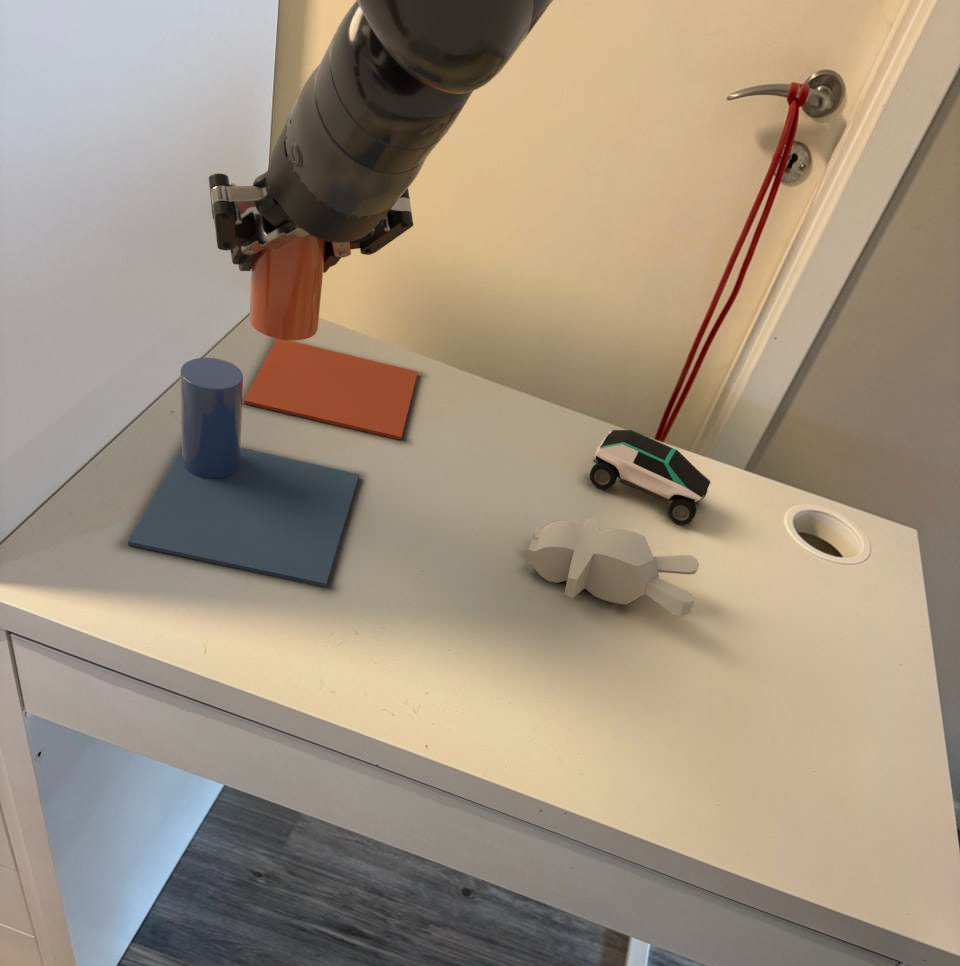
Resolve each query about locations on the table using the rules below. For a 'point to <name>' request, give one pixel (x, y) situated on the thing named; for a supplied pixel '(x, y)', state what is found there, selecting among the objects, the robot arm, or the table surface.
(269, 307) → the terracotta canister
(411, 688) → the table surface
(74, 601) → the table surface
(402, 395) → the terracotta mat
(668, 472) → the toy car
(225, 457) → the blue canister
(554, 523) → the bunny figurine
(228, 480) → the blue mat
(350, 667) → the table surface
